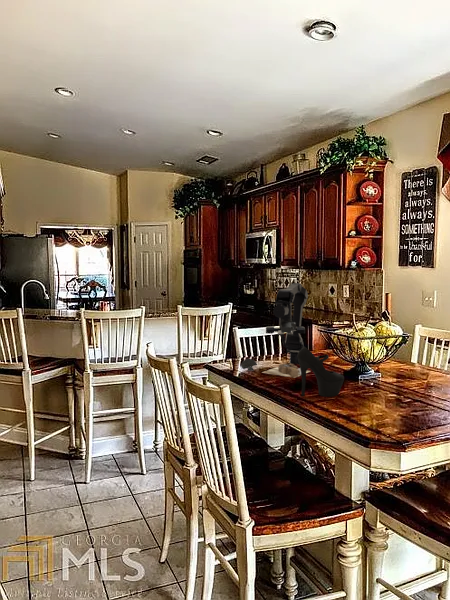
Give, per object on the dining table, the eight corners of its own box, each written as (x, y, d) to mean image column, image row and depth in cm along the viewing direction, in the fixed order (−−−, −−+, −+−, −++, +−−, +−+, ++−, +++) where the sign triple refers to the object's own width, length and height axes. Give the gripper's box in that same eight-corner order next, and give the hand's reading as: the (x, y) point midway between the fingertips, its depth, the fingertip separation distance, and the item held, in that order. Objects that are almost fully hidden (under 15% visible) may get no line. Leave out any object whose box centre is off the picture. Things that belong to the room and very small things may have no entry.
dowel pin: (298, 374, 235) (299, 367, 234) (302, 374, 234) (302, 368, 233) (297, 375, 233) (297, 368, 233) (300, 375, 232) (300, 368, 232)
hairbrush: (242, 370, 239) (240, 357, 264) (242, 377, 240) (240, 363, 264) (259, 370, 239) (256, 357, 264) (259, 377, 240) (256, 363, 264)
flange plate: (278, 370, 242) (278, 363, 242) (292, 369, 244) (292, 363, 244) (288, 377, 229) (288, 370, 229) (302, 376, 231) (302, 369, 230)
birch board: (278, 368, 252) (278, 366, 252) (311, 373, 241) (311, 371, 241) (261, 374, 239) (261, 372, 239) (295, 380, 228) (295, 377, 228)
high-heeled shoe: (346, 397, 200) (346, 347, 199) (299, 398, 199) (299, 348, 197) (340, 391, 208) (340, 344, 207) (294, 392, 207) (295, 344, 205)
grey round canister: (285, 373, 242) (285, 364, 242) (290, 374, 240) (290, 365, 240) (282, 374, 240) (282, 365, 239) (287, 375, 238) (287, 366, 238)
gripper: (266, 317, 235) (266, 350, 237) (306, 317, 234) (306, 350, 236) (265, 314, 246) (265, 346, 248) (304, 314, 245) (303, 346, 247)
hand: (285, 347), depth 244 cm, fingers closed
